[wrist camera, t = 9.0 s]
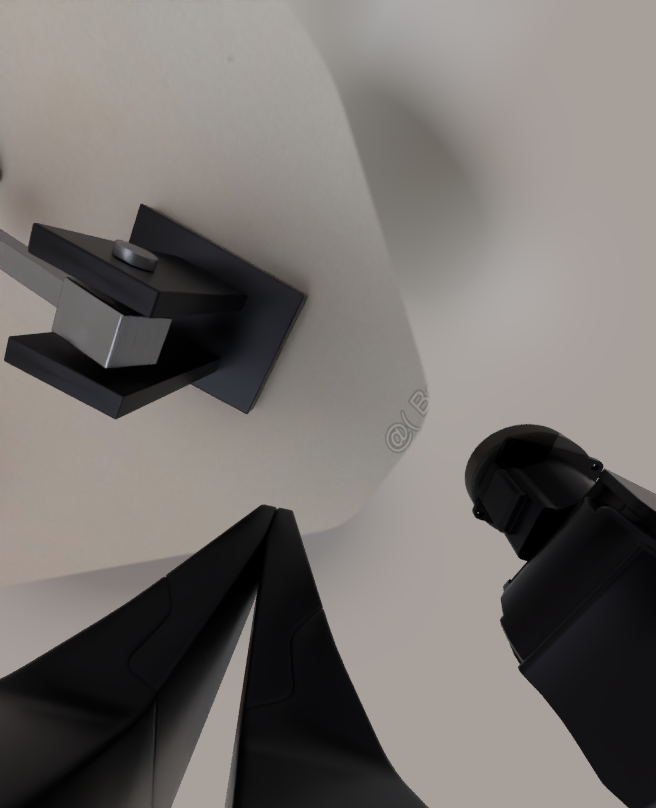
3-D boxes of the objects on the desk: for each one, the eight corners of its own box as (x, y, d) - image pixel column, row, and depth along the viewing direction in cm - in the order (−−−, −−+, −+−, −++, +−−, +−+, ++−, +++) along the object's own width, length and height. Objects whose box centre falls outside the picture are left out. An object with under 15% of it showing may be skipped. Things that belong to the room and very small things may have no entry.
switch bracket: (113, 334, 22) (-76, 359, 12) (153, 208, 19) (-46, 121, 10) (252, 409, 22) (171, 487, 13) (308, 295, 20) (257, 291, 10)
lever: (-66, 221, 17) (-172, 196, 14) (-58, 154, 16) (-170, 112, 13) (160, 374, 15) (91, 383, 12) (185, 307, 14) (117, 299, 11)
